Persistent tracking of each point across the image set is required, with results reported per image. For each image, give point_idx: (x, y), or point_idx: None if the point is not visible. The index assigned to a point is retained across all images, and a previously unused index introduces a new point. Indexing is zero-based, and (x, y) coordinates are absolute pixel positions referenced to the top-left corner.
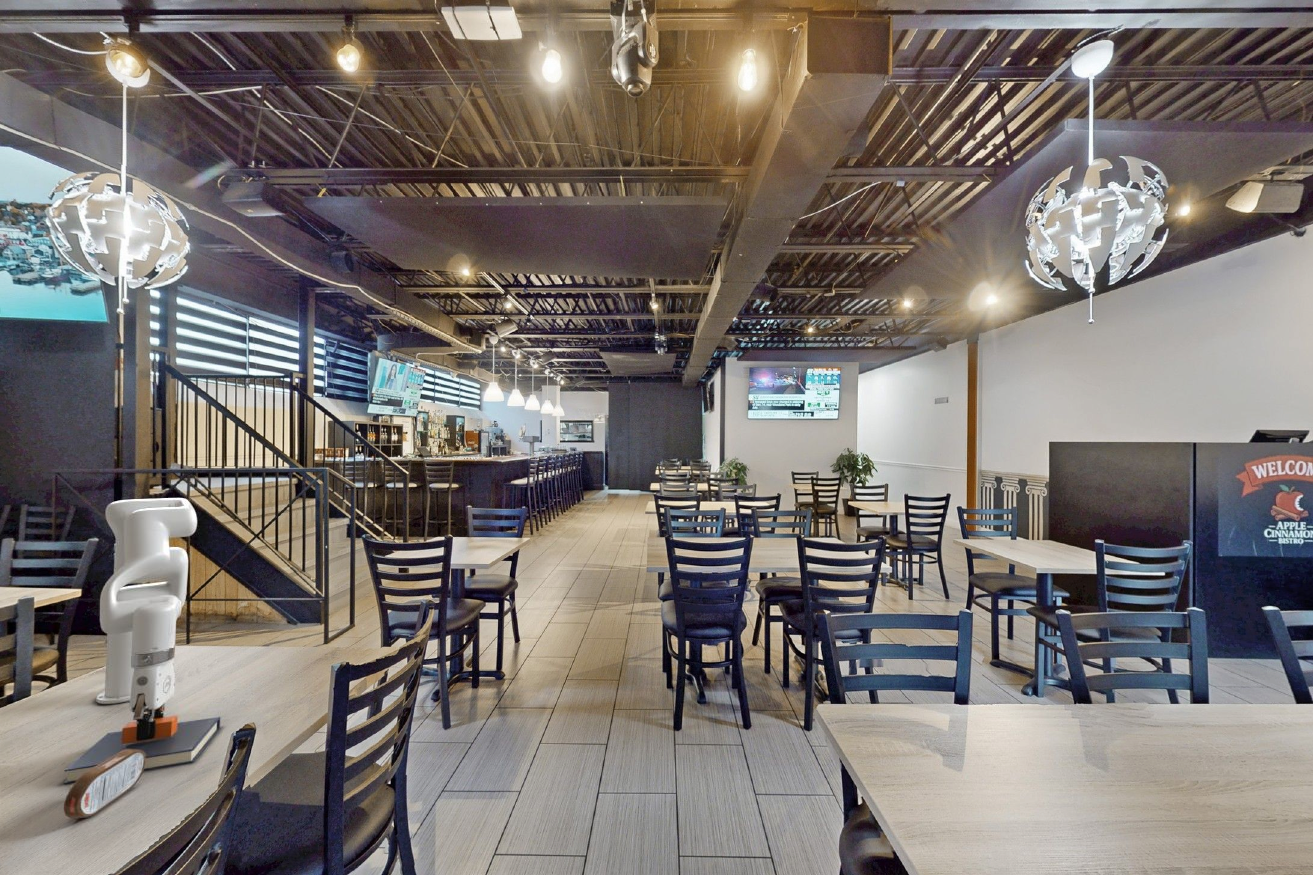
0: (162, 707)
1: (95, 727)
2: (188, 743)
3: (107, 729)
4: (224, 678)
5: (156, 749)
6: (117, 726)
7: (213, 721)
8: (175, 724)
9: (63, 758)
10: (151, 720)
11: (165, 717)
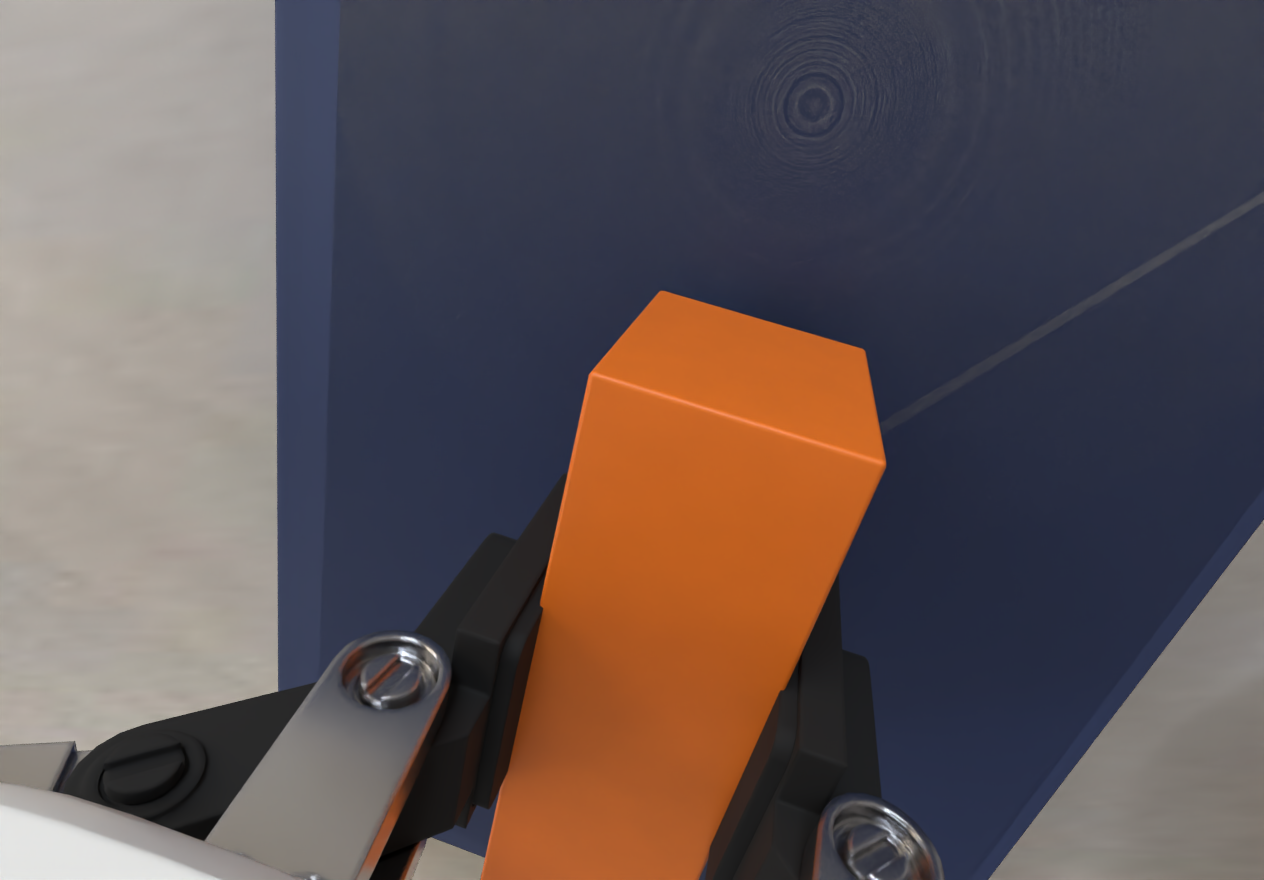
0: (397, 739)
1: (37, 731)
2: (1238, 61)
3: (82, 688)
4: None
5: (1046, 473)
6: (49, 645)
7: None
8: (710, 348)
9: (430, 859)
10: (939, 869)
11: (562, 554)
